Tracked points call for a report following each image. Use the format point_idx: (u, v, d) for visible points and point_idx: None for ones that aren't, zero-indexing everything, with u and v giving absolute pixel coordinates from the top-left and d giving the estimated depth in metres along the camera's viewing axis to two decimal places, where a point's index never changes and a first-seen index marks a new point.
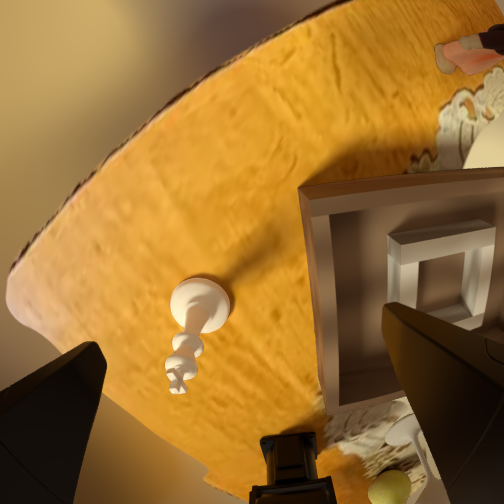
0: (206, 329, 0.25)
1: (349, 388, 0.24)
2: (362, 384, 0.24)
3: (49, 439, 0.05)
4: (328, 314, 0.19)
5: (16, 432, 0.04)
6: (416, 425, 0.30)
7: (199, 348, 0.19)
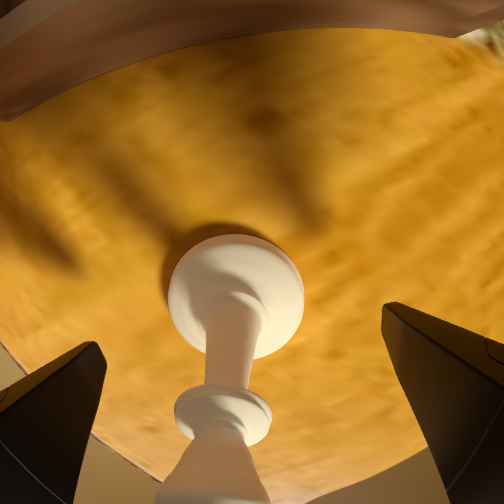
0: (288, 300, 0.10)
1: None
2: None
3: (49, 439, 0.05)
4: None
5: (16, 432, 0.04)
6: None
7: (219, 403, 0.05)
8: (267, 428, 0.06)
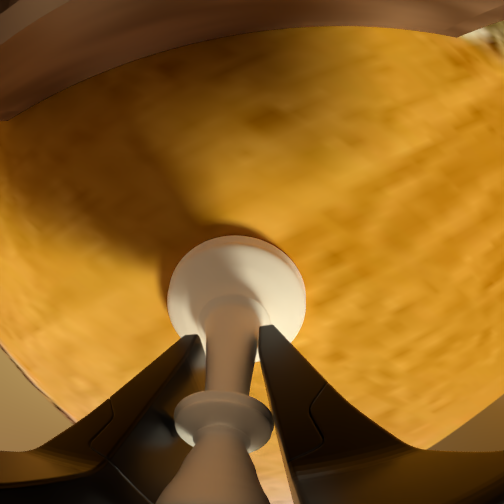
0: (289, 302, 0.10)
1: None
2: None
3: (170, 456, 0.05)
4: None
5: (140, 457, 0.04)
6: None
7: (220, 410, 0.05)
8: (269, 435, 0.06)
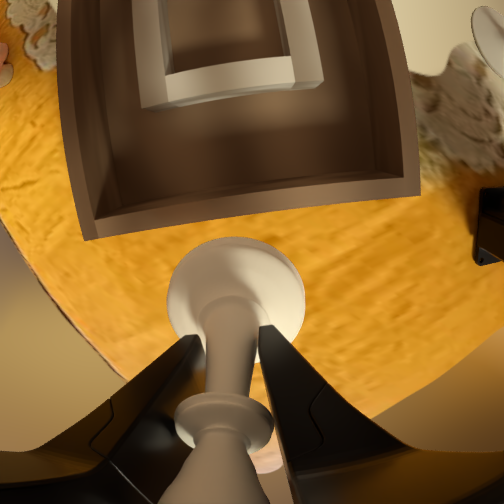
0: (289, 304, 0.10)
1: (387, 150, 0.15)
2: (384, 128, 0.15)
3: (170, 456, 0.05)
4: (215, 210, 0.14)
5: (141, 457, 0.04)
6: (493, 33, 0.13)
7: (220, 411, 0.05)
8: (269, 436, 0.06)
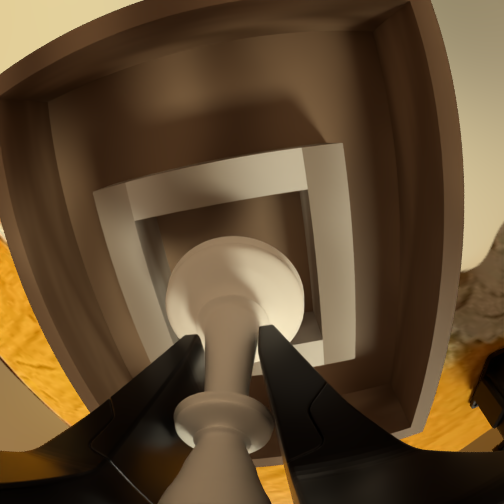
0: (288, 303, 0.10)
1: (404, 391, 0.15)
2: (406, 376, 0.14)
3: (170, 456, 0.05)
4: None
5: (141, 457, 0.04)
6: None
7: (220, 411, 0.05)
8: (269, 435, 0.06)
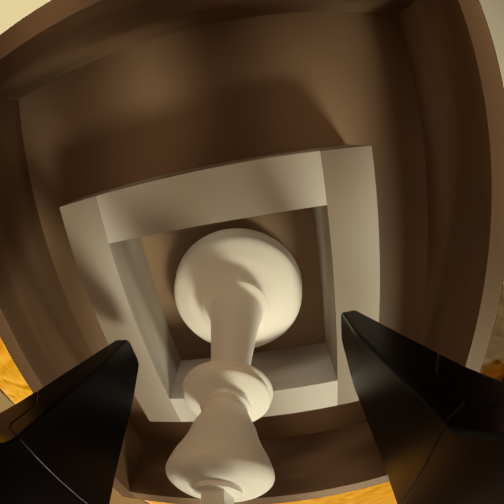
0: (287, 289, 0.11)
1: None
2: None
3: (84, 447, 0.05)
4: (247, 502, 0.12)
5: (50, 442, 0.04)
6: None
7: (224, 377, 0.06)
8: (268, 402, 0.06)
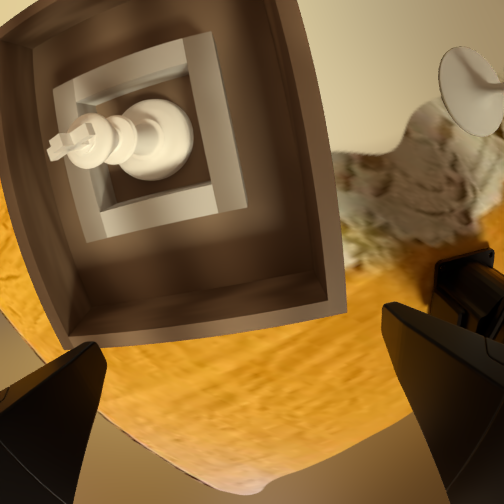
0: (178, 127, 0.15)
1: (318, 264, 0.17)
2: (315, 243, 0.17)
3: (49, 439, 0.05)
4: (159, 336, 0.16)
5: (16, 432, 0.04)
6: (464, 82, 0.15)
7: (110, 120, 0.11)
8: (133, 137, 0.11)
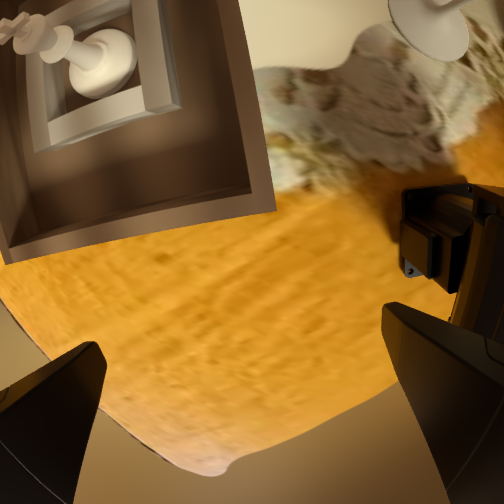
0: (122, 47, 0.14)
1: None
2: None
3: (49, 439, 0.05)
4: (82, 239, 0.15)
5: (16, 432, 0.04)
6: (416, 7, 0.13)
7: (55, 28, 0.09)
8: (68, 37, 0.10)
